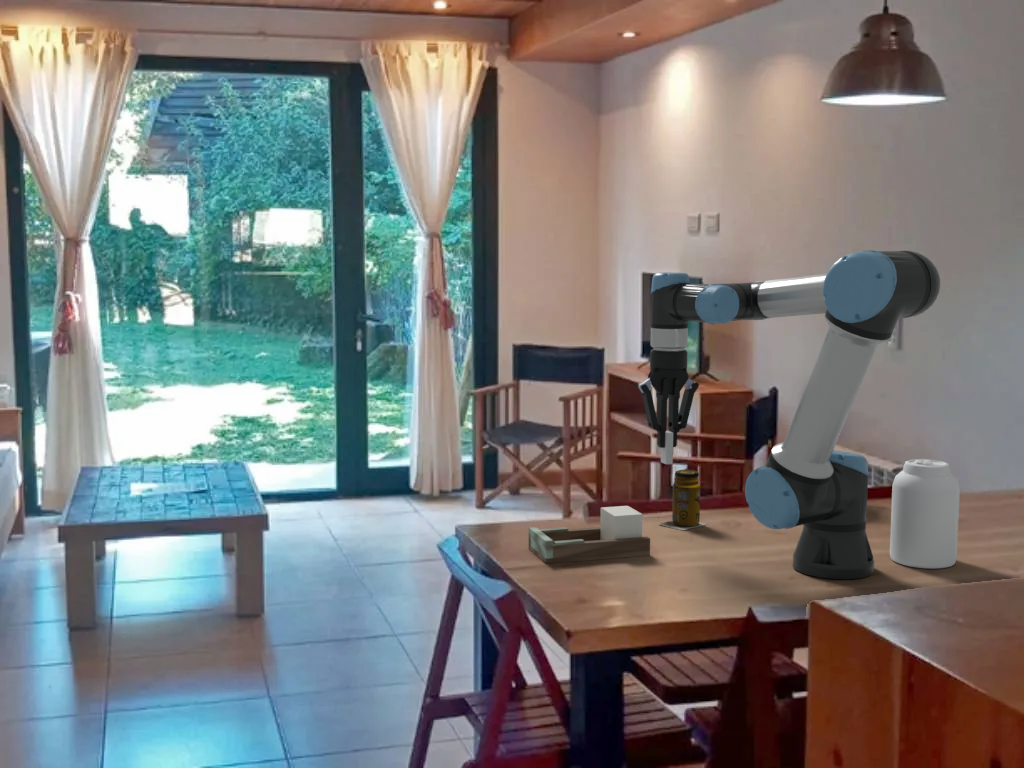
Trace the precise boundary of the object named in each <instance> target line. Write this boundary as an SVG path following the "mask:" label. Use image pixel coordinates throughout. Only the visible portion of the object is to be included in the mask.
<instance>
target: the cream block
mask: <svg viewBox="0 0 1024 768" xmlns="http://www.w3.org/2000/svg"><path fill="white" fill-rule="evenodd" d="M599 527H600V540H608V539H621V538H634V537H643V513H641V512H640V511H638V510H636V509H634V508H632V507H631V506H629V505H619V506H617V505H616V506H605V507H600V526H599Z"/></svg>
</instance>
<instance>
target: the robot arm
mask: <svg viewBox="0 0 1024 768" xmlns="http://www.w3.org/2000/svg"><path fill="white" fill-rule="evenodd" d="M651 279H652V280H651V289H650V308H651V309H650V342H649V343H650V347H651V348H652V349H651V350H650V352H649V357H650V358H649V368H650V369H649V370H650V371H649V373H648V375H647V379H646V380H644V381H643V382H638V383H637V388H638V390H639V392H640V394H641V397H642V402H643V406H644V410H645V416H646V421H647V425H648V427H649V428H650V429H652V430H655V431H656V433H657V434H656V435H657V436H656V437H657V438H656V444H657V447H658V448H660V463H662V464H665V465H673V463H674V457H673V456H674V448H676V447H678V446H677V444H678V433H679V432H680V431H681V430H682V429H686V427H687V425H688V421H689V416H690V412H691V408H692V403H693V400H694V398H695V397H694V396H695V393H696V392H697V390H698V389H699V386H700V384H699V382H697V381H693V380H692V379H691V378H690V376H689V373H688V371H687V370H688V351H687V350H686V348H687V347H688V345H689V344H688V343H689V342H688V341H689V340H688V339H689V322H696V323H705V324H707V323H708V324H710V325H718V324H719V325H720V324H721V325H722V324H723V325H724V324H728V323H730V322H735V321H761V320H762V321H764V320H766V319H773V318H774V319H775V318H785V317H787V318H788V317H799V316H808V315H810V316H811V315H821V314H822V315H823V314H824V318H825V321H826V322H827V325H828V330H827V333H826V335H825V338H824V340H823V342H822V345H821V347H820V350H819V353H818V355H817V358H816V360H815V363H814V366H812V367H813V368H812V370H811V373H810V375H809V378H808V379H807V380H808V381H807V383H806V386H805V388H804V390H803V393H802V395H801V398H800V400H799V403H798V406H797V407H796V410H795V412H794V415H793V418H792V421H791V423H790V426H789V428H788V431H787V434H786V436H785V438H784V441H782V442H780V443H777V444H775V445H773V447H772V449H771V451H770V453H769V455H768V457H767V460H766V464H765V466H764V465H762V466H759V467H757V468H756V469H753V470H752V471H751V472H750V473H749V474H748V476H747V479H746V482H745V486H744V493H745V500H746V503H747V504H748V509H749V511H750V513H751V514H752V516H753V517H754V519H756V521H757V522H759V523H760V524H761V525H763V526H764V527H766V528H769V529H772V530H784V529H785V530H786V529H787V530H788V529H792V528H795V527H797V526H802V525H803V526H802V530H801V533H800V536H799V538H798V541H797V544H796V546H795V550H794V552H793V555H792V568H793V569H794V570H796V572H797V571H798V572H799V573H802V574H804V575H807V576H813V577H815V578H822V579H831V580H854V579H862V578H866V577H869V576H871V575H873V574H874V572H875V559H874V556H873V552H872V548H871V545H870V541H869V538H868V535H867V532H866V531H867V513H868V512H867V507H868V488H869V487H868V483H869V482H868V481H869V477H870V476H869V475H870V474H869V469H868V466H869V464H868V460H867V458H866V457H865V456H864V455H862V454H860V453H857V452H856V453H854V452H850V451H844V450H836V449H835V447H836V445H837V442H838V440H839V437H840V435H841V433H842V430H843V428H844V425H845V422H846V420H847V418H848V416H849V413H850V412H851V408H852V407H853V404H854V401H855V399H856V396H857V394H858V392H859V390H860V388H861V385H862V383H863V379H864V378H865V376H866V373H867V371H868V368H869V367H870V363H871V360H872V359H873V357H874V354H875V352H876V350H877V347H878V345H881V344H883V343H885V342H888V341H889V340H890V339H891V338H892V335H893V332H894V330H895V328H896V326H897V323H898V321H899V319H907V318H912V317H916V316H919V315H921V314H923V313H925V312H926V311H927V310H929V309H930V307H932V306H933V305H934V304H935V302H936V300H937V299H938V296H939V294H940V291H941V290H940V289H941V278H940V274H939V271H938V269H937V266H936V265H935V264H934V263H933V261H932V260H930V259H929V258H928V257H927V256H926V255H923V254H922V253H919V252H916V251H912V250H891V251H890V250H887V251H886V250H883V251H881V250H879V251H877V250H871V249H868V250H860V251H856V252H852V253H849V254H846V255H843V256H842V257H840V258H839V259H838V260H836V261H835V262H834V263H833V264H832V265H831V267H830V268H829V269H828V271H827V273H819V274H810V275H803V276H793V277H786V278H785V277H784V278H778V279H769V280H759V281H751V282H750V281H749V282H738V283H737V282H736V283H734V282H733V283H691V282H690V276H689V274H688V273H685V272H671V271H670V272H656V273H654V274H653V276H652V278H651ZM652 387H653V389H654V391H655V395H656V409H655V403H654V397H653V395H652V392H651V391H652ZM683 387H684V391H683V394H682V398H681V390H682V389H683ZM680 398H681V403H680ZM679 404H680V405H679ZM679 406H680V407H679ZM667 429H668V430H667Z"/></svg>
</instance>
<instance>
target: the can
mask: <svg viewBox="0 0 1024 768" xmlns="http://www.w3.org/2000/svg"><path fill="white" fill-rule="evenodd" d="M902 467H903V469H902V470H901V471H900V472H898V473H897V474H896V475H895V477H894V479H893V481H892V482H893V483H892V484H891V485H892V489H891V491H892V492H891V509H890V510H891V511H890V512H891V514H890V515H891V516H890V536H889V537H890V541H889V557H890V558H891V560H892V561H894V562H895V563H897V564H899V565H903V566H905V567H906V566H907V567H911V568H915V569H924V570H925V569H927V570H928V569H932V570H935V569H946V568H949V567H952V566H955V564H956V561H957V560H958V559H957V557H958V540H959V539H958V537H959V536H958V534H959V517H960V516H959V512H960V495H961V494H960V493H961V491H960V490H961V488H960V487H961V486H960V484H959V480H958V479H957V477H955V476H954V475H953V474H952V473H951V466H950V464H949V463H948V462H945V461H942V460H938V459H937V460H936V459H930V458H929V459H928V458H917V459H915V458H913V459H908V460H906V461H905V462H904V464H903V465H902Z"/></svg>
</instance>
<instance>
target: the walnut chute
mask: <svg viewBox="0 0 1024 768" xmlns="http://www.w3.org/2000/svg"><path fill="white" fill-rule="evenodd" d="M528 550H530V552H531V553H533V554H534V555H535V556H536V557H538V558H539V560H541V561H543V563H545V564H547V565H548V564H558V563H571V562H583V561H595V560H606V559H607V560H608V559H619V558H633V557H643V556H644V557H646V556H651V537H649V536H642V537H634V538H621V539H608V540H600V526H598V527H584V528H583V527H580V528H572V529H571V528H570V529H569V528H568V527H566V526H565V527H550V528H549V527H548V528H538V527H536V526H529V527H528Z"/></svg>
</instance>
